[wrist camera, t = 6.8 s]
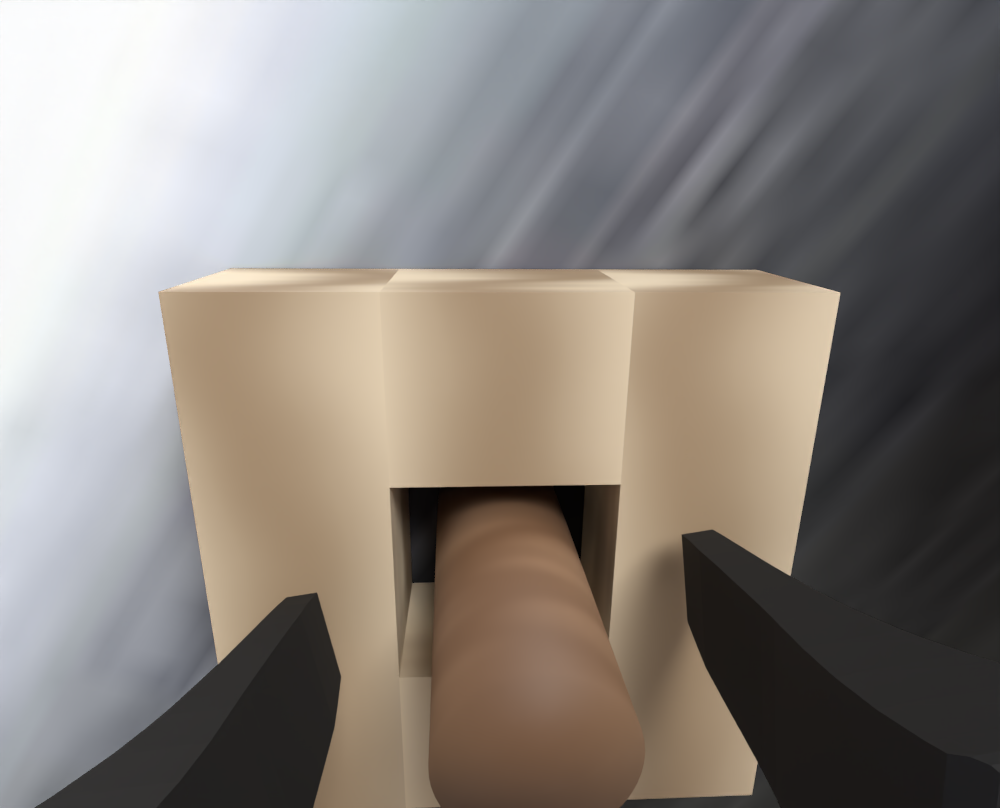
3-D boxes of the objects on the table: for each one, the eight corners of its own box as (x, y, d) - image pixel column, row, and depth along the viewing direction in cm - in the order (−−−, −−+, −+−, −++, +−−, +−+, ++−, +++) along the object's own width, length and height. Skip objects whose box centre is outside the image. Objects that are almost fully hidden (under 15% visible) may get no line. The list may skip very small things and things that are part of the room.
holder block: (756, 270, 15) (840, 292, 12) (701, 687, 19) (751, 794, 15) (230, 268, 14) (158, 291, 11) (283, 699, 18) (242, 814, 15)
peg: (544, 436, 16) (631, 652, 8) (562, 540, 17) (656, 819, 9) (426, 460, 16) (405, 700, 8) (451, 563, 17) (454, 864, 9)
